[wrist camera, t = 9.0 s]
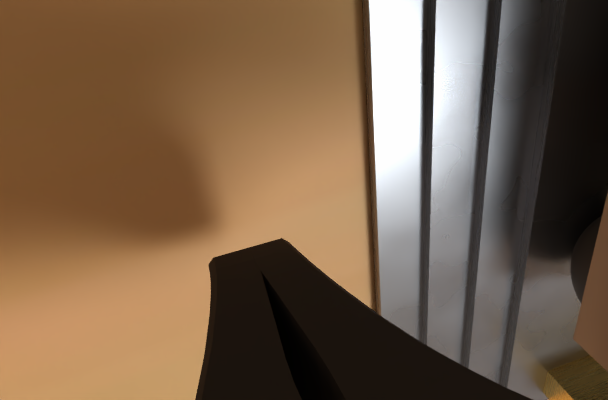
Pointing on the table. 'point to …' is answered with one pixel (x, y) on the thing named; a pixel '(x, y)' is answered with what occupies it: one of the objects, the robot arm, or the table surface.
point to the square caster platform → (592, 288)
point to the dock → (488, 179)
